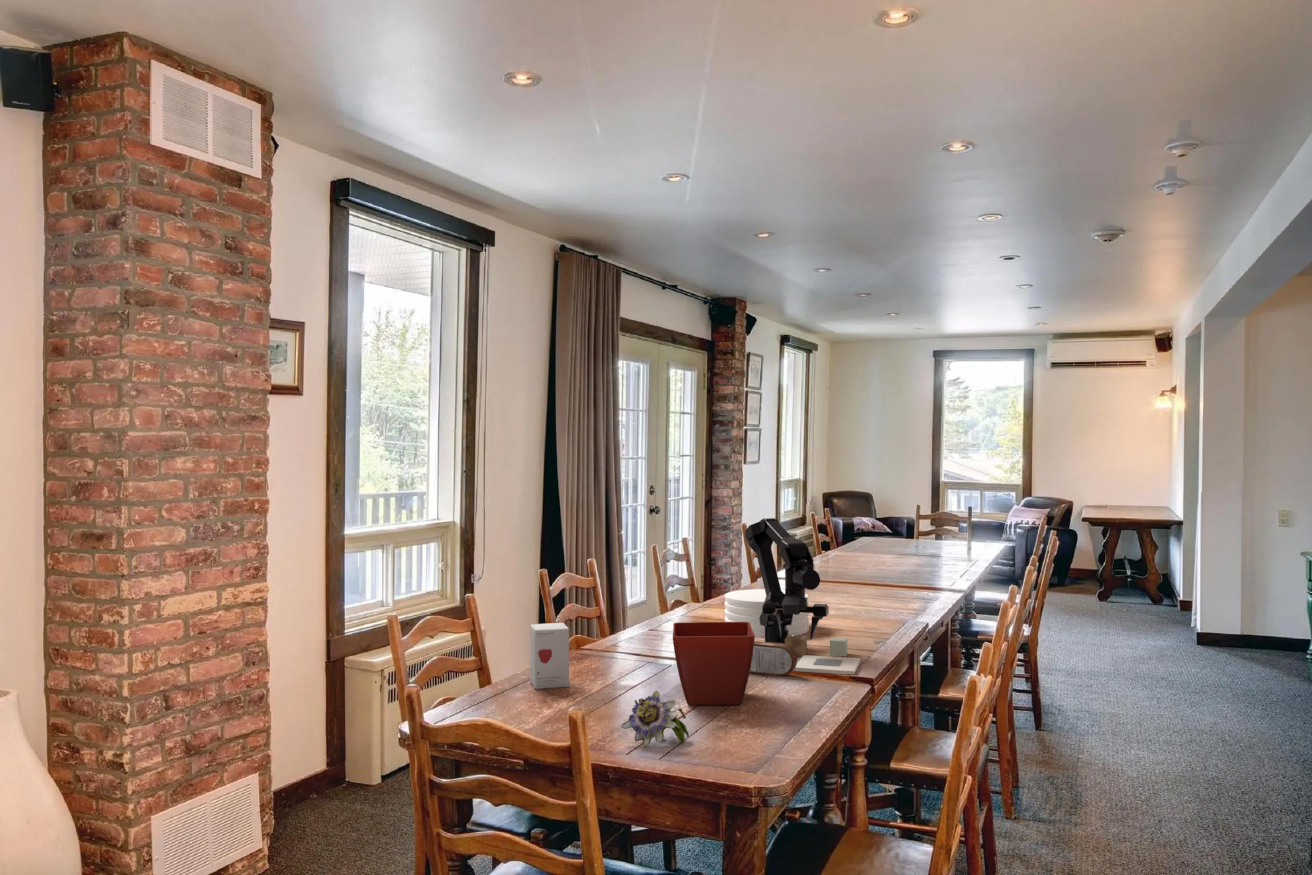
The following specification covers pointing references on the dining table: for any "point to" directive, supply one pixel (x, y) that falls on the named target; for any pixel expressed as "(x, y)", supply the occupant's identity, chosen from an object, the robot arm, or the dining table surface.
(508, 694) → the dining table surface
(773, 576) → the robot arm
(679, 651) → the plant pot
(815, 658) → the off-white flat square slab
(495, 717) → the dining table surface
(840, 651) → the sage block
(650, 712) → the passion flower
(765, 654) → the tin
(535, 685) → the supplement box
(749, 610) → the plate stack
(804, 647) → the walnut block
